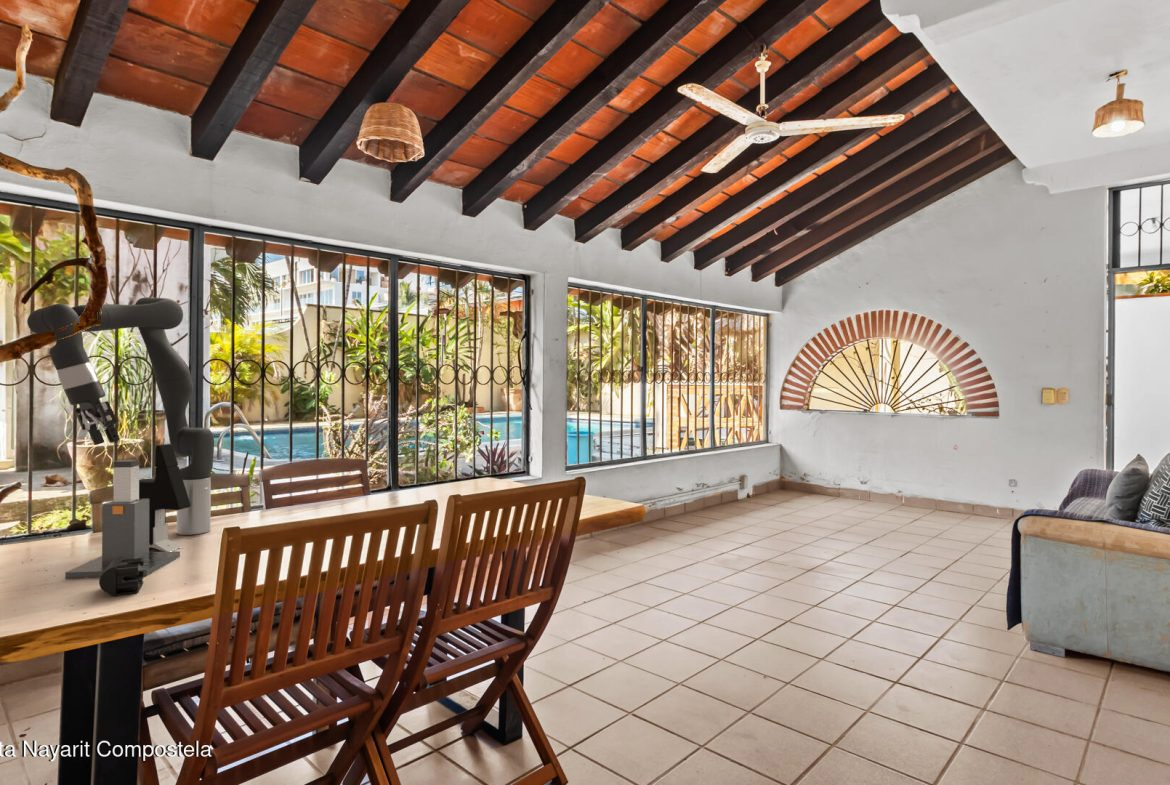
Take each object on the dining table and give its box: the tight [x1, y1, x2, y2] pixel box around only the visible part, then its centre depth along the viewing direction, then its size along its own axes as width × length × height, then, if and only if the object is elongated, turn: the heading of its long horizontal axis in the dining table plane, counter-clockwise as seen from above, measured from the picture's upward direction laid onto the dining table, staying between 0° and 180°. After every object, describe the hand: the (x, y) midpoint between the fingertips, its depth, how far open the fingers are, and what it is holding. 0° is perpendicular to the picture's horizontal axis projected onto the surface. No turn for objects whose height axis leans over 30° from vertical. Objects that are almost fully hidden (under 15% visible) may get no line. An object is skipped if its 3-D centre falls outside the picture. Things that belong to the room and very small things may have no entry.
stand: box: [64, 499, 181, 579], centre depth 167 cm, size 18×18×17 cm
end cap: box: [98, 557, 145, 597], centre depth 149 cm, size 10×7×7 cm
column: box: [112, 459, 140, 503], centre depth 167 cm, size 4×4×25 cm
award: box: [139, 443, 191, 552], centre depth 185 cm, size 15×5×30 cm, turn 84°
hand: (107, 442), depth 168 cm, fingers open, 8 cm apart
